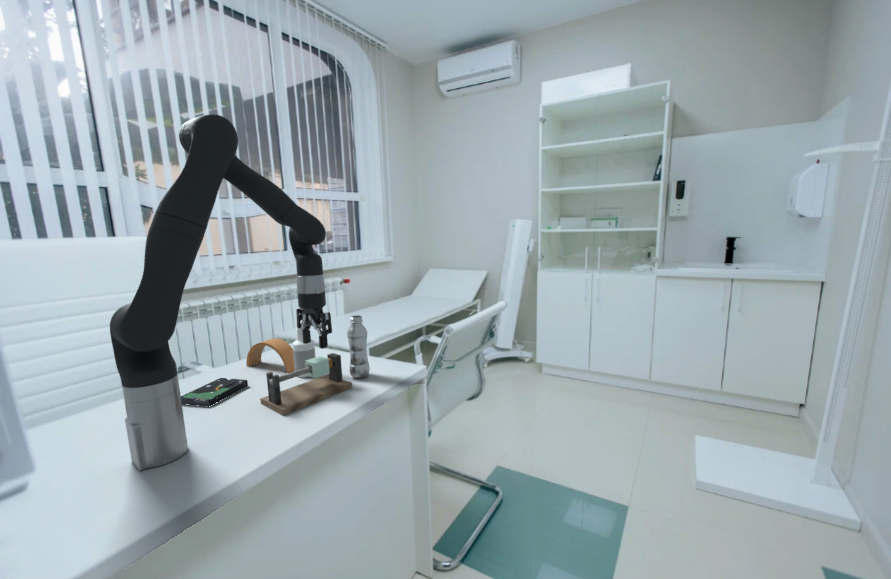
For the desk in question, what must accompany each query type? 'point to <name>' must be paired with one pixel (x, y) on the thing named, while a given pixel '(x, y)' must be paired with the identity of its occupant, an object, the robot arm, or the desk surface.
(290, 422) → the desk surface
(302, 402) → the rod stand
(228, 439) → the desk surface
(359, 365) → the plastic bottle
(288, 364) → the arch
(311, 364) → the sleeve
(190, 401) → the disk drive
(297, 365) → the spray bottle
